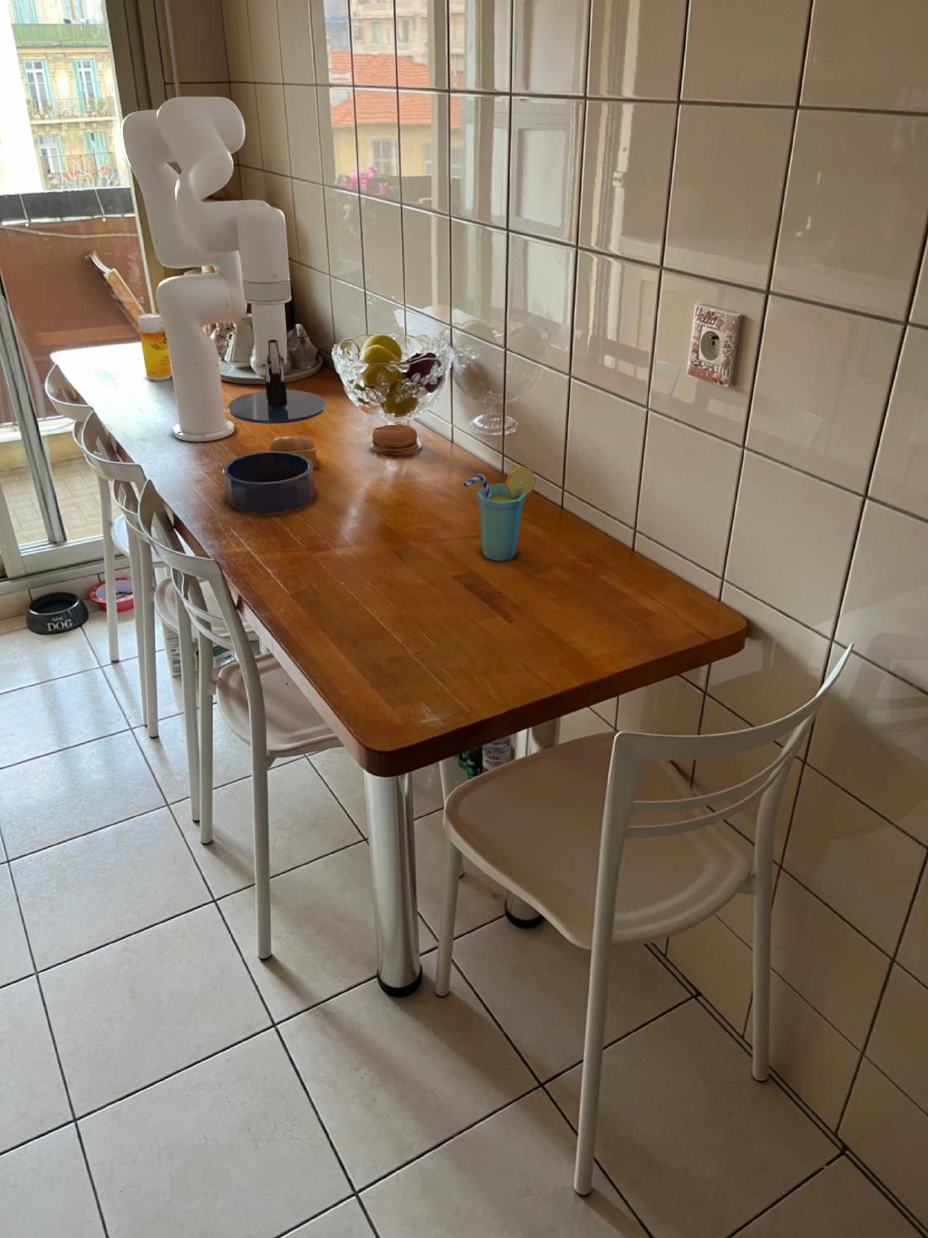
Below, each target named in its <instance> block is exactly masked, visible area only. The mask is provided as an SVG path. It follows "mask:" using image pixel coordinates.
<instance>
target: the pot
mask: <svg viewBox="0 0 928 1238" xmlns="http://www.w3.org/2000/svg"><path fill="white" fill-rule="evenodd" d="M222 475H223V483H224V493H225V498H226V503H227V504H228V505H229V506H231V507H232V508H233V509H236V510H238V511H239V512H244V513H252V514H277V513H279V514H280V513H284V512H288V511H293V510H297V509H299V508H302V507H304V506H305V505H307V504H309V503H311V502H312V501H313V499H314V498H315V496H316V488H315V476H314V475H315V474H314V468H313V465H312V461H311V460H309V459H308V458H306V457H305V456H302V455H299V454H295V453H291V452H280V451H257V452H251V453H247V454H242V455H240V456H238V457H234V458H232V459H230V460H229V461H228V462H227V463H226V464H225V465H223V467H222Z"/></svg>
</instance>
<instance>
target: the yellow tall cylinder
mask: <svg viewBox="0 0 928 1238" xmlns="http://www.w3.org/2000/svg"><path fill="white" fill-rule="evenodd" d="M137 324H138V331H139V337H140V344H141V349H142V355H143V361H144V368H145V374H146V377H148V378H149V379H150V380H151V381H164V380H169V379H170V378H171V377H172V376H173V375H172V368H171V361H170V355H169V349H168V343H167V338H166V333H165V329H164V325H163V322H162V319H161V315H160V313H157V312H156V313H155V312H151V313H149V312H148V313H143V314H139V315H138V319H137Z"/></svg>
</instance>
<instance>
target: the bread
mask: <svg viewBox="0 0 928 1238" xmlns="http://www.w3.org/2000/svg"><path fill="white" fill-rule="evenodd" d="M268 444H269V445H268V446H269V447H268V450H269V451H268V452H270V451H280V452H291V453H295V454H299V455H302V456H305V457H306V458H308V459H309V460H311V461H312V465H313V469H314V468H317V467H318V462H317V451H316V444H315V442H314V440H313V439H311V437H309V436H307V435H290V436H289V435H288V436H278V437H275V438H274V439H273V440H272V441H271V442H270V443H268Z"/></svg>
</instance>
